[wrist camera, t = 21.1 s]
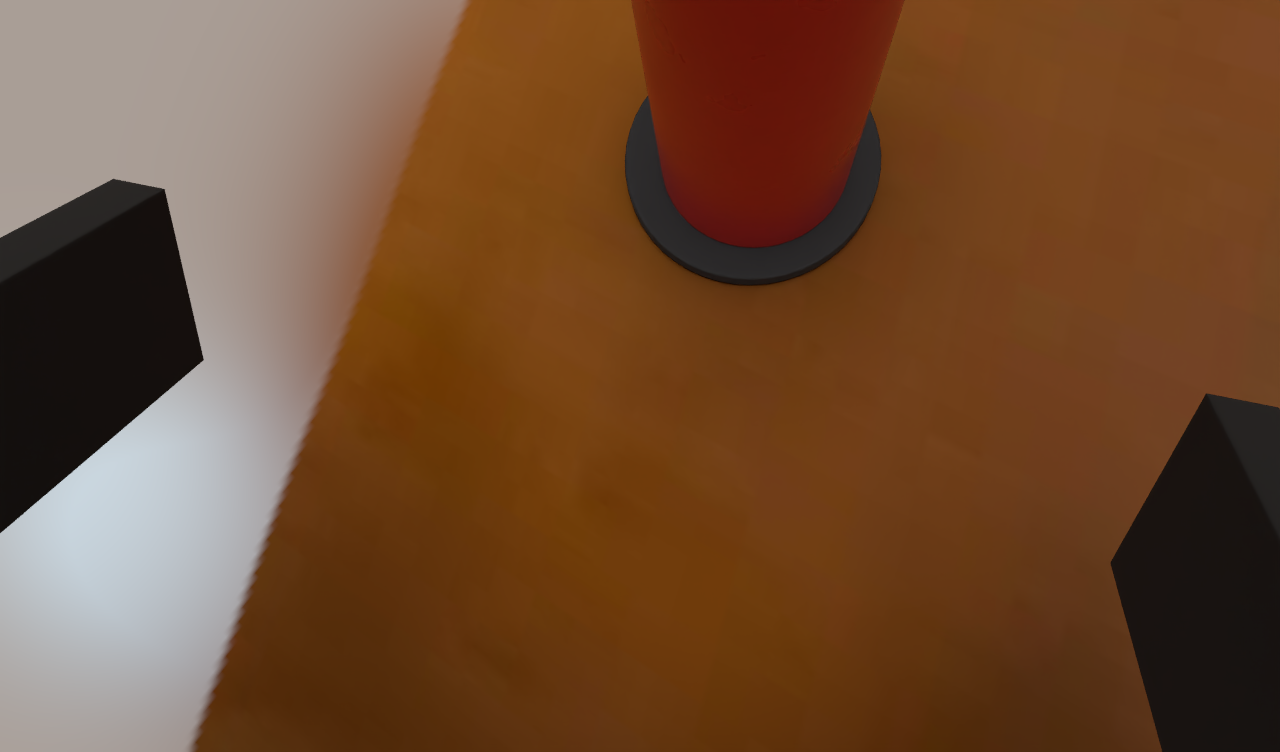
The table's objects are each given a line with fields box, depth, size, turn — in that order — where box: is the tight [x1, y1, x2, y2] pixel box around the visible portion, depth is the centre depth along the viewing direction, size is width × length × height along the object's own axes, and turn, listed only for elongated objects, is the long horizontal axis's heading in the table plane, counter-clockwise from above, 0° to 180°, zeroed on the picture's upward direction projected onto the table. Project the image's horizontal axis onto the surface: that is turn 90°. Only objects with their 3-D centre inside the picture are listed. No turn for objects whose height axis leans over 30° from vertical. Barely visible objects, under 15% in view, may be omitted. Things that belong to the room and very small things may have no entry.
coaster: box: [625, 96, 881, 285], centre depth 21 cm, size 6×6×1 cm
